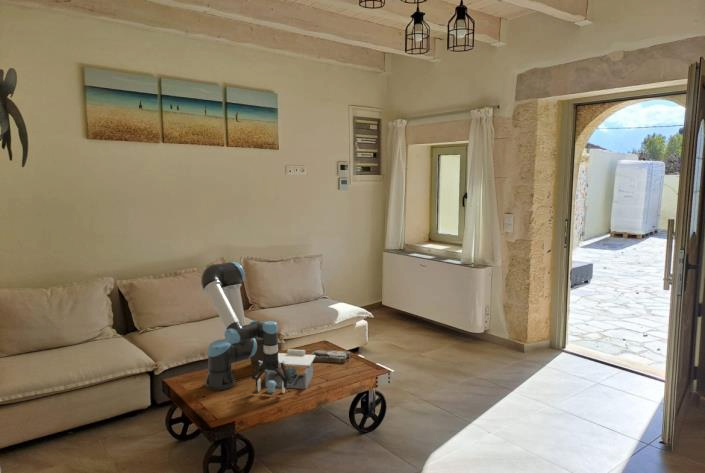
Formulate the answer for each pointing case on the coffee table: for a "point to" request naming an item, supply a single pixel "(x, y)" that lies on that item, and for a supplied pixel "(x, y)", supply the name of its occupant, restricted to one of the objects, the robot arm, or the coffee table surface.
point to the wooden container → (258, 354)
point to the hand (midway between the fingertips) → (271, 392)
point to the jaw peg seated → (291, 372)
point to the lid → (296, 358)
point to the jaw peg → (271, 386)
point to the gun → (330, 356)
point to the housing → (298, 382)
